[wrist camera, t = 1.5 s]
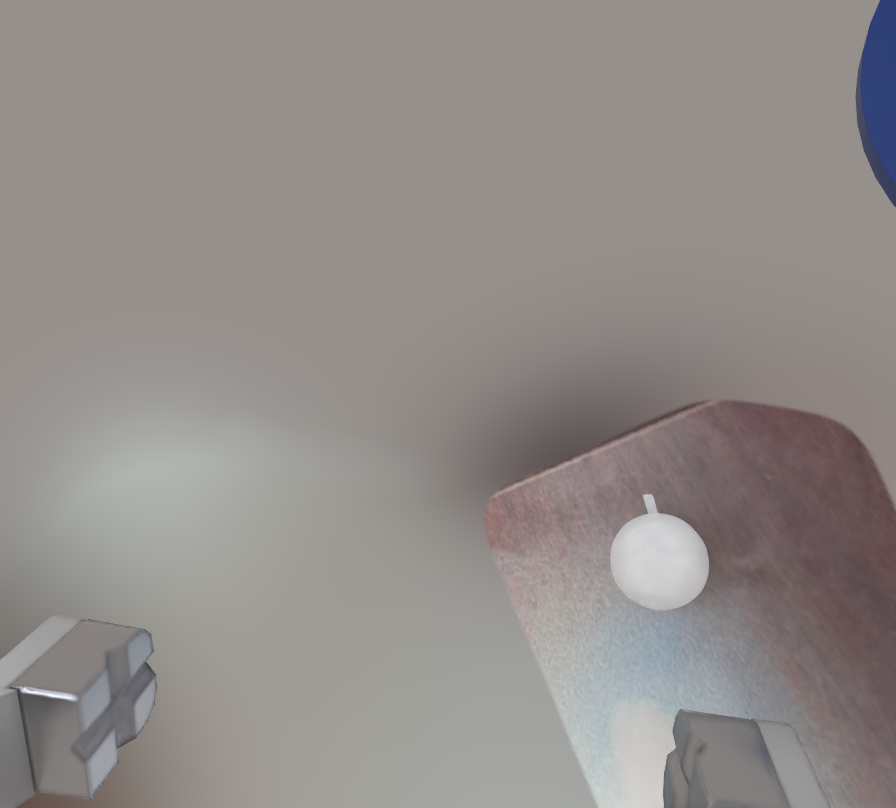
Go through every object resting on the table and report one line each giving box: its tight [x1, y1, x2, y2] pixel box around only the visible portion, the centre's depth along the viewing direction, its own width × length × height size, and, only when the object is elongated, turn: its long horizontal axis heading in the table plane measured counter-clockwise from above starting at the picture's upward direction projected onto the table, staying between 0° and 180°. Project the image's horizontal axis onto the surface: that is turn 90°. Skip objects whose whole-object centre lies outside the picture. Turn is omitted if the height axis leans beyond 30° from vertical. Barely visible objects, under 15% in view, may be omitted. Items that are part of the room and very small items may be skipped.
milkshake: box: [610, 494, 709, 610], centre depth 35 cm, size 4×5×10 cm
